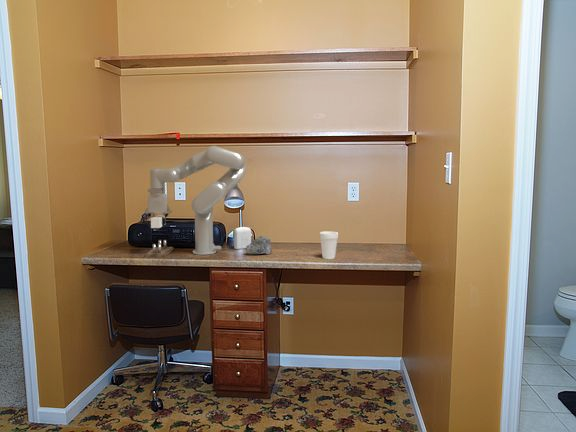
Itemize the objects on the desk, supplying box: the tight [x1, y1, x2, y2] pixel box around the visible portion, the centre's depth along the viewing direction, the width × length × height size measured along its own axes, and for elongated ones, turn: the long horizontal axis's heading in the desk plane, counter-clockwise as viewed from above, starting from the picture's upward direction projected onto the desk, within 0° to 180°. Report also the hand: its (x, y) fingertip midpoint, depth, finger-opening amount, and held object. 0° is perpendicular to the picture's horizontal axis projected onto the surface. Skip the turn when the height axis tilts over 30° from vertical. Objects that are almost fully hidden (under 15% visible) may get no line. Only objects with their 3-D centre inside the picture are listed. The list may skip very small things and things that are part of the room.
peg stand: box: [145, 239, 174, 258], centre depth 242 cm, size 10×20×6 cm, turn 2°
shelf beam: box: [150, 214, 163, 229], centre depth 241 cm, size 15×4×5 cm, turn 3°
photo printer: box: [233, 226, 252, 250], centre depth 256 cm, size 10×4×12 cm, turn 123°
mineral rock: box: [245, 235, 272, 255], centre depth 240 cm, size 13×11×10 cm
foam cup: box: [319, 230, 339, 260], centre depth 230 cm, size 10×9×13 cm
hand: (158, 225), depth 241 cm, fingers closed on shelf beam, 4 cm apart
